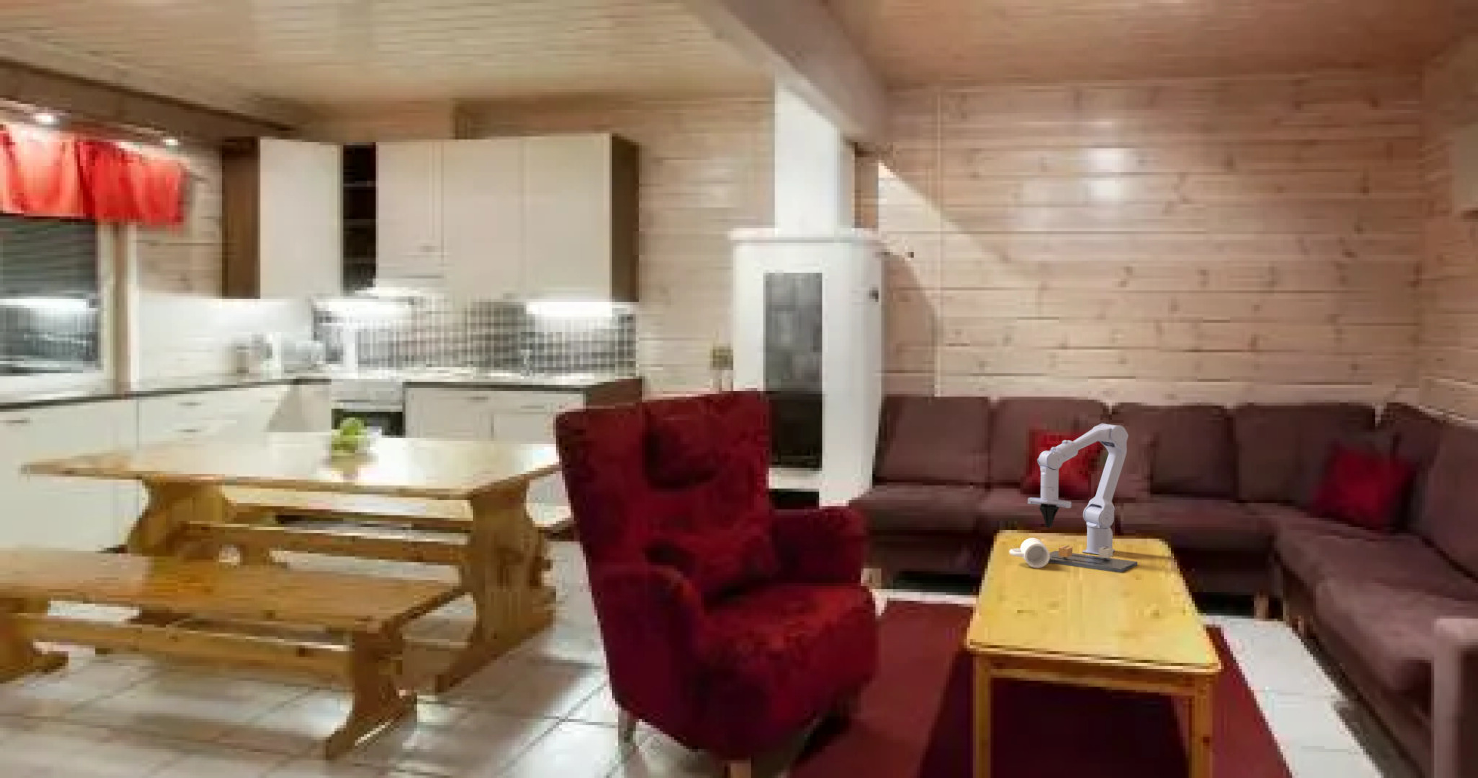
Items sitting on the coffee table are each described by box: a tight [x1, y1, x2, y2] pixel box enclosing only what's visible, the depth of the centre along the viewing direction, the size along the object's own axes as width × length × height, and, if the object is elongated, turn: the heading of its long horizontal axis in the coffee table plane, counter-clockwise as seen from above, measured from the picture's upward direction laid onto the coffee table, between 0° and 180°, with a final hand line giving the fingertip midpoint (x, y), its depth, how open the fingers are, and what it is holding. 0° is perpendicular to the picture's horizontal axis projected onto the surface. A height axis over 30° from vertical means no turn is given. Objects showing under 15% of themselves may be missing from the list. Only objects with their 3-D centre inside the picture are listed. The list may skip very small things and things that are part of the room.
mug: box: [1008, 537, 1051, 569], centre depth 370 cm, size 12×10×8 cm
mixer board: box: [1047, 550, 1138, 574], centre depth 372 cm, size 14×28×1 cm, turn 51°
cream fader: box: [1098, 547, 1114, 559], centre depth 372 cm, size 4×3×4 cm
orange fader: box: [1058, 545, 1073, 558], centre depth 373 cm, size 4×3×4 cm
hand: (1048, 527), depth 383 cm, fingers closed
